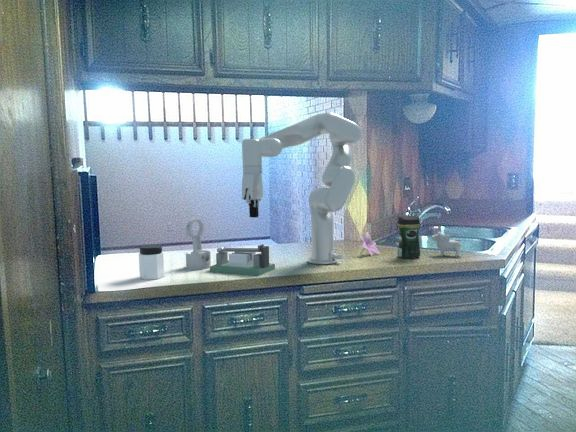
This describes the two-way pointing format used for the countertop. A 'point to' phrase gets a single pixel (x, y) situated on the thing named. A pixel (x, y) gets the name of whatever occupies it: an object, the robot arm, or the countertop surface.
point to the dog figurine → (446, 243)
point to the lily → (369, 244)
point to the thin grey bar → (240, 249)
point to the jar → (151, 262)
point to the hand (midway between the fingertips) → (254, 217)
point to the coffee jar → (408, 237)
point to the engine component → (197, 249)
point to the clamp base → (241, 270)
